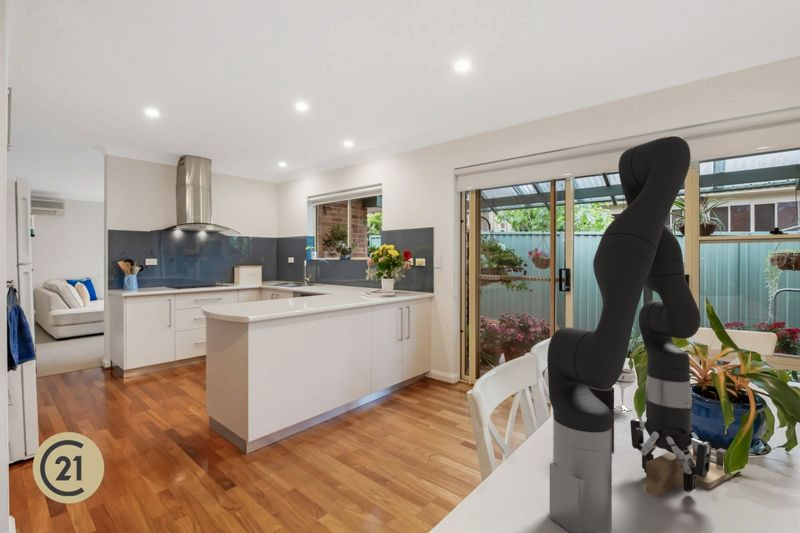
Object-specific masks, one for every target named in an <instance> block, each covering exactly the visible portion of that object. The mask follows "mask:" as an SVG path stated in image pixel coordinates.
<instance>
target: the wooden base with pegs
mask: <svg viewBox="0 0 800 533" xmlns="http://www.w3.org/2000/svg"><path fill="white" fill-rule="evenodd" d="M689 449H690V451H691V453H692V455H693V460H694V462H695V464H696V458H697V452H696V451H695V450H694V446H693V445H692V448H689ZM726 450H727V449H724V448H721V447H720V448H718V449H716V450H715V451H716V452H715V454H716V456H714V455H711V456H710V467H709V472H707V473H705V474H703V475H702V476H700V475H698V474H696V485H699V486H701V487H703V488H705V489H707V490H711V489H712V488H714V487H716V486H717V485H719V484H721V483H723V482H724V481H727V480H728V479H730V478H732V477H733V476H735V475H734V474H731V475H729V474H725V473H724V469H723V455H724V453H725V452H726Z"/></svg>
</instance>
